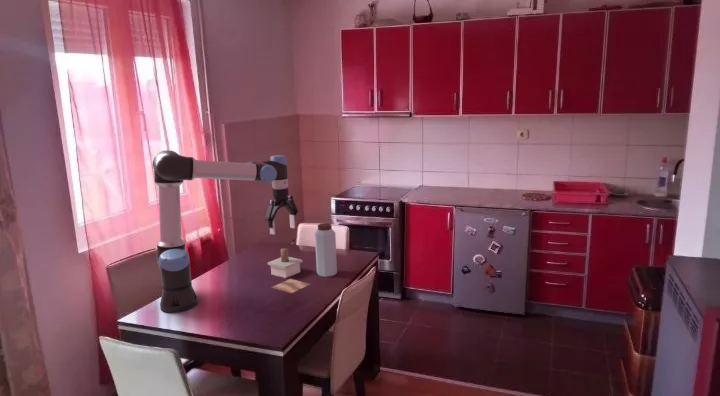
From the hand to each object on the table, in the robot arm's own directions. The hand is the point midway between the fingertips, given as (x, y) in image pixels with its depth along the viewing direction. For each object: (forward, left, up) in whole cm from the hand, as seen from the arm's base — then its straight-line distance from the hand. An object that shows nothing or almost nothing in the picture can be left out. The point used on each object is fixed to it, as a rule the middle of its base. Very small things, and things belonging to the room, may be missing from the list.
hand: (282, 231), depth 245 cm
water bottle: (+10, -18, -22) cm, 30 cm away
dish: (0, 0, -22) cm, 22 cm away
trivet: (-11, -14, -22) cm, 28 cm away
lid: (0, 0, -17) cm, 17 cm away
